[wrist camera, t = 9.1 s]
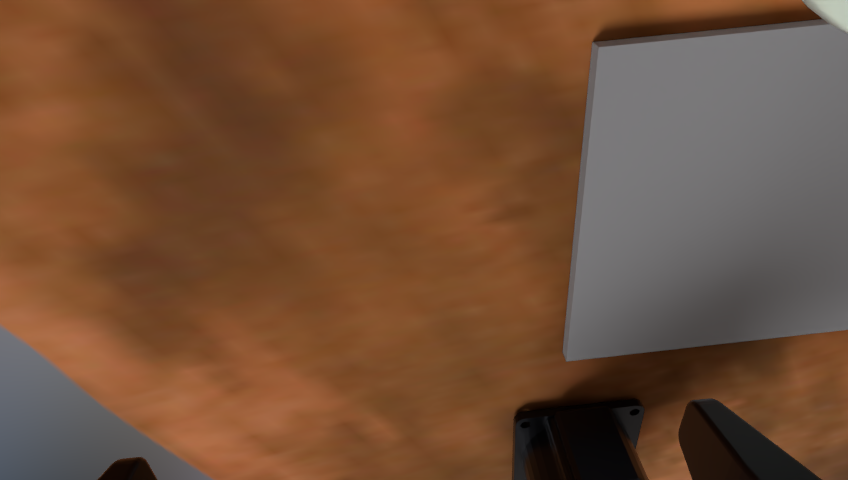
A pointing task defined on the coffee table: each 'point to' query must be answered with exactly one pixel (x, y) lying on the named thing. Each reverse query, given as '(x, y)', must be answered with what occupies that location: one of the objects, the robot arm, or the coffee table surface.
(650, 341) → the mat
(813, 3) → the lid
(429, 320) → the coffee table surface
